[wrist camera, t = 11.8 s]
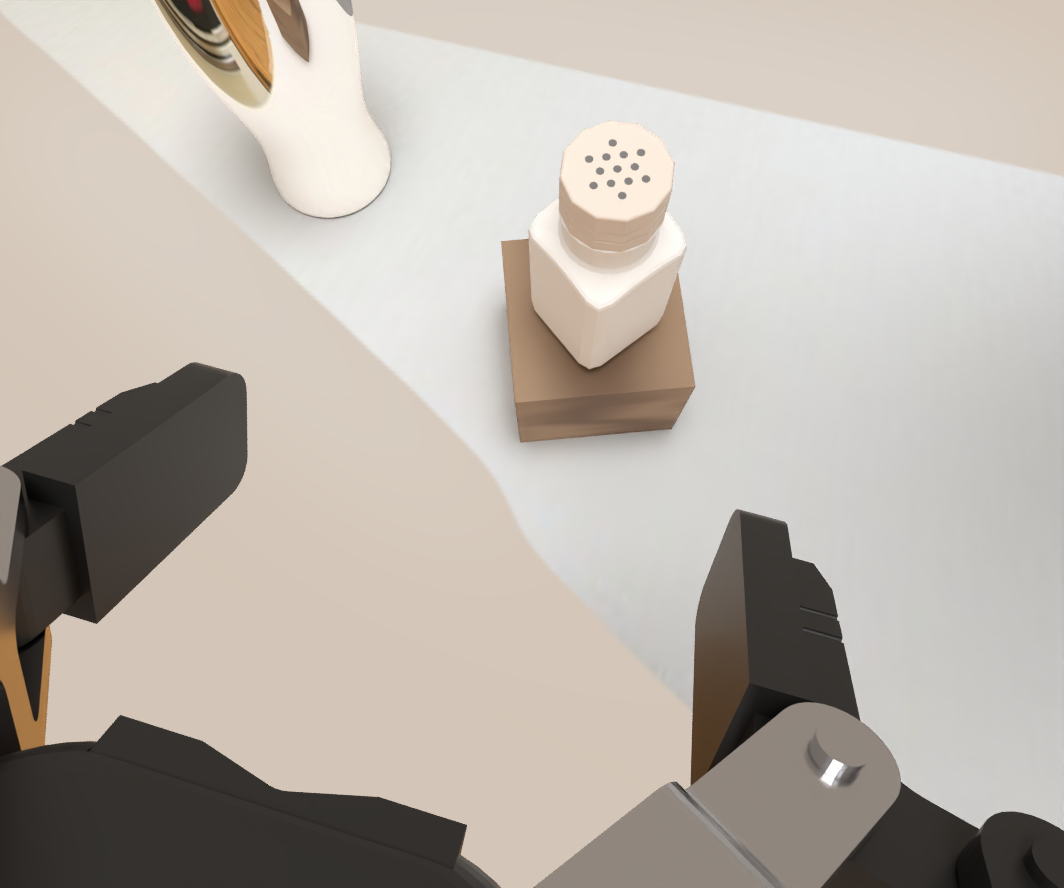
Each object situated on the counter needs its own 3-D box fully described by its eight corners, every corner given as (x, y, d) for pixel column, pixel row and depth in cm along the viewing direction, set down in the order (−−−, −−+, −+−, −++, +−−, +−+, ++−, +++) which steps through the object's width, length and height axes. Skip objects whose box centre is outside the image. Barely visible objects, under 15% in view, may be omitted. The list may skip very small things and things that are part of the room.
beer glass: (242, 202, 38) (56, -66, 24) (300, 93, 40) (159, -220, 26) (367, 244, 38) (251, -8, 23) (421, 131, 39) (345, -170, 25)
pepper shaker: (603, 249, 31) (627, 82, 22) (667, 321, 30) (720, 179, 21) (525, 305, 30) (516, 158, 21) (587, 380, 29) (606, 261, 20)
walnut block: (651, 292, 37) (670, 226, 31) (671, 429, 35) (695, 386, 29) (508, 305, 37) (501, 241, 31) (520, 443, 35) (514, 402, 29)
